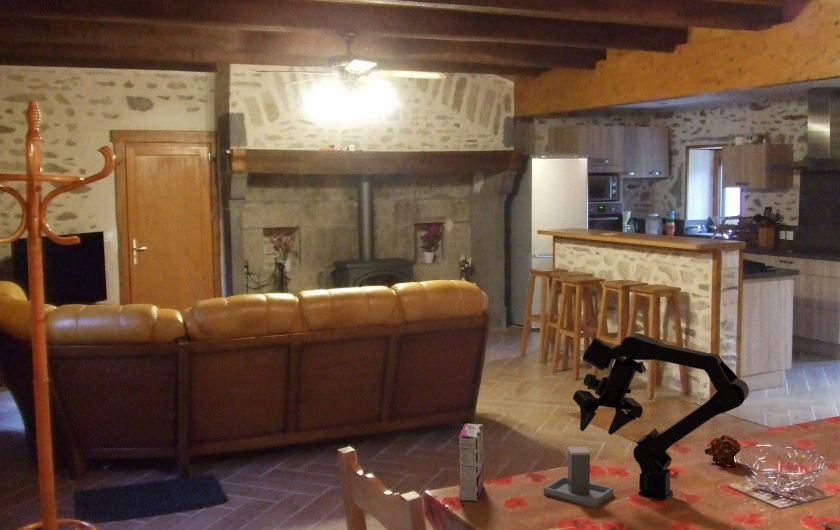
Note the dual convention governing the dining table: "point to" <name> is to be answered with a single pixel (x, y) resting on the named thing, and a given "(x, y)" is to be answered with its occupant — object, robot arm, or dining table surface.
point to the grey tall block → (579, 471)
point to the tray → (561, 491)
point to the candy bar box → (471, 462)
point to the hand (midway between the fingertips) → (595, 432)
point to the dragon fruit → (723, 450)
